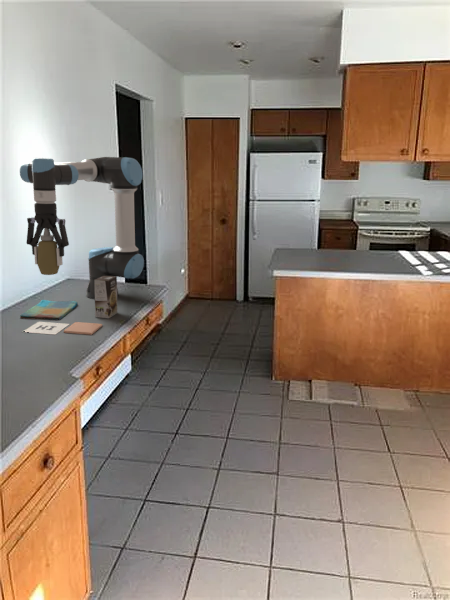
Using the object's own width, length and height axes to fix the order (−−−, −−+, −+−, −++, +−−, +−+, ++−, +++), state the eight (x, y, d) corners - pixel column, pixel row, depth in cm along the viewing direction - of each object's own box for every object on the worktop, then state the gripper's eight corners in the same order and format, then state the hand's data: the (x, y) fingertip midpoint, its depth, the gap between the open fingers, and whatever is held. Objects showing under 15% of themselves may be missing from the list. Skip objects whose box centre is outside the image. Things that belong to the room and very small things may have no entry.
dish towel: (79, 306, 227) (78, 300, 226) (60, 321, 204) (60, 315, 204) (41, 304, 228) (41, 298, 227) (18, 319, 205) (18, 313, 204)
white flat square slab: (38, 321, 201) (38, 321, 201) (69, 324, 200) (69, 323, 200) (22, 332, 189) (22, 331, 189) (55, 334, 187) (55, 334, 187)
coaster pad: (75, 323, 200) (75, 321, 200) (102, 325, 199) (102, 323, 199) (63, 332, 190) (63, 330, 190) (91, 334, 189) (91, 332, 188)
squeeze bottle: (58, 276, 186) (56, 227, 181) (35, 276, 184) (32, 226, 180) (62, 271, 193) (59, 224, 189) (40, 271, 192) (37, 224, 187)
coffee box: (109, 318, 209) (108, 280, 204) (94, 317, 210) (93, 279, 206) (118, 312, 217) (117, 276, 213) (104, 311, 218) (103, 275, 214)
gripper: (12, 201, 180) (17, 264, 186) (68, 204, 177) (71, 268, 183) (23, 200, 187) (27, 260, 193) (77, 203, 184) (79, 264, 190)
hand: (48, 264), depth 188 cm, fingers closed on squeeze bottle, 8 cm apart
